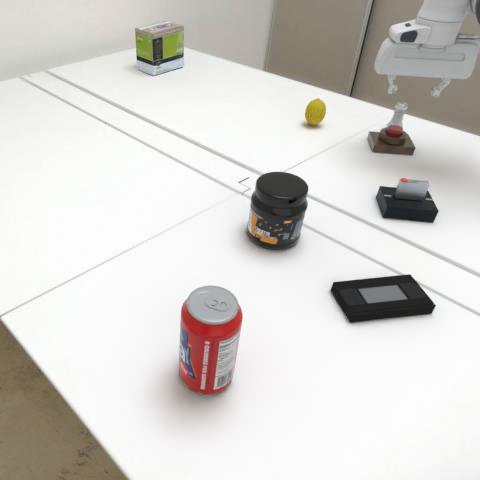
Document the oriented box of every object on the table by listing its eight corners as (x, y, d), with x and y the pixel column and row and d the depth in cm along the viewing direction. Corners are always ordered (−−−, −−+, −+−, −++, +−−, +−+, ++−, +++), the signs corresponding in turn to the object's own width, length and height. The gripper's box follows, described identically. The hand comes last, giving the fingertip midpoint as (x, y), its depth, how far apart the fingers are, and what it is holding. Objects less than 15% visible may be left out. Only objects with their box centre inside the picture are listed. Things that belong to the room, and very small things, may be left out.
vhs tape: (329, 290, 80) (332, 282, 78) (406, 282, 81) (410, 274, 80) (349, 323, 74) (352, 314, 73) (431, 313, 75) (436, 305, 74)
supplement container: (235, 233, 92) (241, 182, 85) (268, 213, 97) (277, 164, 90) (276, 259, 86) (287, 207, 78) (310, 237, 91) (323, 185, 84)
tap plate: (423, 201, 101) (428, 189, 99) (433, 222, 95) (439, 210, 93) (375, 197, 102) (380, 185, 100) (382, 218, 96) (387, 205, 94)
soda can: (224, 406, 62) (235, 335, 53) (170, 387, 65) (172, 316, 55) (238, 361, 68) (250, 290, 59) (188, 346, 70) (192, 275, 61)
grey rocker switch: (421, 197, 97) (428, 179, 94) (423, 201, 96) (430, 183, 93) (393, 194, 98) (400, 177, 95) (395, 198, 96) (402, 181, 94)
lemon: (301, 128, 130) (307, 100, 125) (303, 120, 134) (309, 93, 129) (321, 130, 129) (328, 103, 124) (323, 122, 133) (329, 96, 128)
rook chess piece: (389, 126, 131) (398, 99, 126) (404, 131, 128) (414, 104, 123) (381, 130, 129) (390, 103, 124) (396, 136, 126) (406, 108, 121)
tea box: (166, 61, 177) (166, 19, 168) (184, 67, 171) (185, 25, 162) (136, 69, 169) (134, 26, 160) (153, 76, 163) (152, 32, 154)
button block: (405, 141, 123) (410, 127, 121) (412, 155, 117) (418, 141, 115) (366, 138, 125) (371, 124, 122) (372, 152, 119) (376, 138, 116)
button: (399, 131, 120) (401, 125, 119) (402, 137, 117) (404, 131, 116) (384, 130, 120) (386, 124, 119) (387, 136, 118) (389, 130, 117)
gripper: (482, 30, 99) (456, 92, 108) (383, 26, 102) (365, 86, 111) (492, 38, 94) (464, 102, 103) (388, 33, 97) (370, 96, 106)
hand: (412, 94), depth 107 cm, fingers open, 8 cm apart
